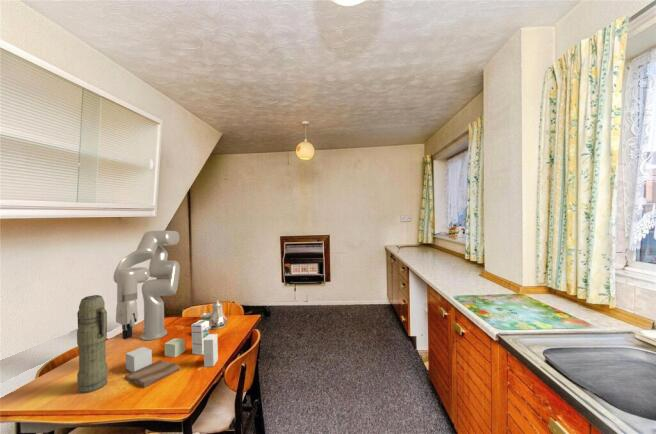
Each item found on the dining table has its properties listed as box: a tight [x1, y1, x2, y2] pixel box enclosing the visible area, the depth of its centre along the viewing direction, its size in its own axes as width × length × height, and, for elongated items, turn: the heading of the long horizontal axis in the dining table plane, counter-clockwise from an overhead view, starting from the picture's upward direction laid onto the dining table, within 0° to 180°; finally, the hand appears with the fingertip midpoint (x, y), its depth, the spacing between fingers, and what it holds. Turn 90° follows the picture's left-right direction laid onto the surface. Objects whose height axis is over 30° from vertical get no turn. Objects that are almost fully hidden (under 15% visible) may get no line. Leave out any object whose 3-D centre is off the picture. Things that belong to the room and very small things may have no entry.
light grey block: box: [125, 346, 153, 373], centre depth 120 cm, size 7×7×7 cm
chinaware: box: [199, 299, 228, 331], centre depth 165 cm, size 28×17×17 cm, turn 25°
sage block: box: [164, 337, 186, 358], centre depth 132 cm, size 6×6×6 cm
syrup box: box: [191, 319, 210, 356], centre depth 134 cm, size 6×6×14 cm
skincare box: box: [203, 333, 219, 368], centre depth 122 cm, size 6×4×12 cm
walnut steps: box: [124, 359, 180, 389], centre depth 115 cm, size 14×14×2 cm
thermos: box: [76, 294, 109, 394], centre depth 107 cm, size 9×12×35 cm
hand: (127, 338), depth 124 cm, fingers closed
